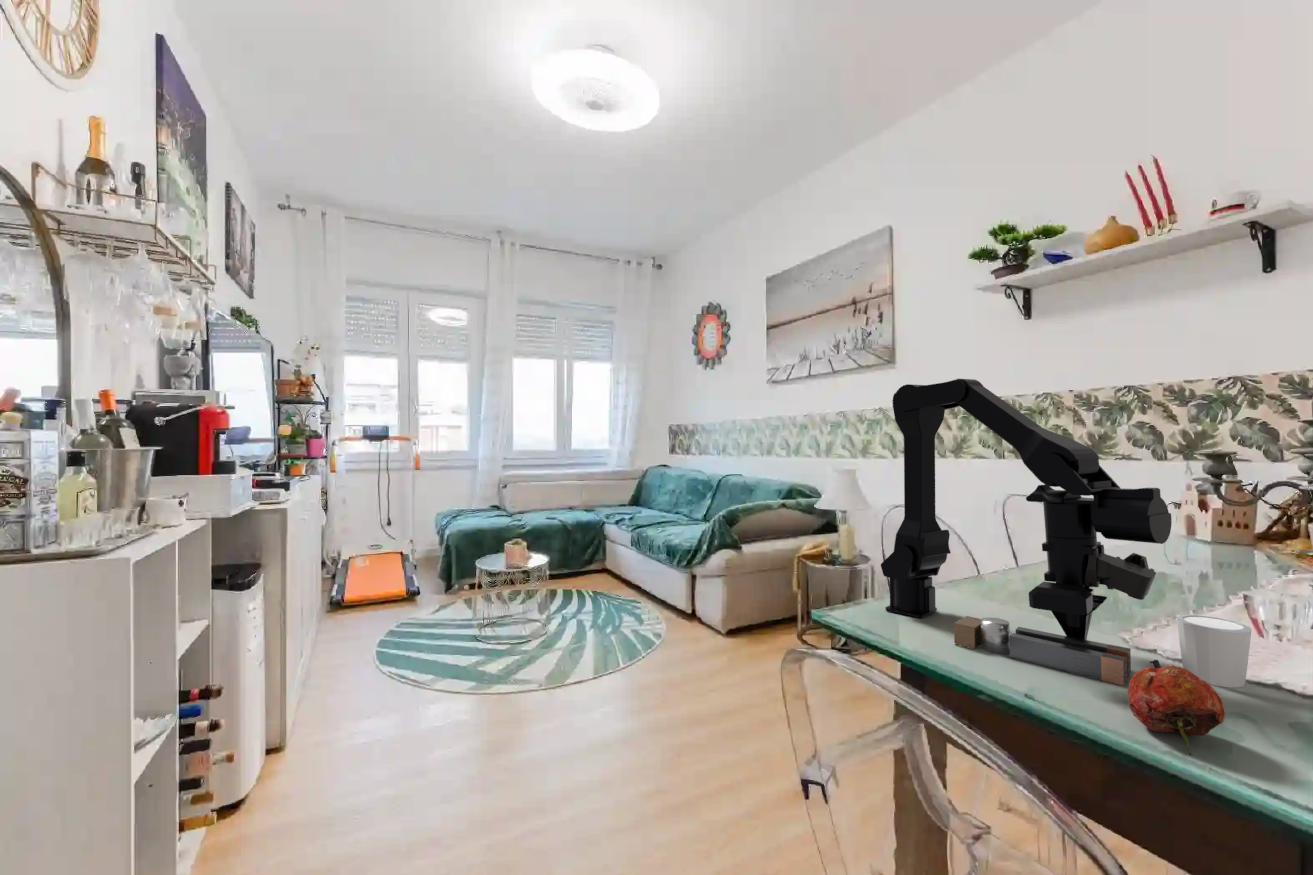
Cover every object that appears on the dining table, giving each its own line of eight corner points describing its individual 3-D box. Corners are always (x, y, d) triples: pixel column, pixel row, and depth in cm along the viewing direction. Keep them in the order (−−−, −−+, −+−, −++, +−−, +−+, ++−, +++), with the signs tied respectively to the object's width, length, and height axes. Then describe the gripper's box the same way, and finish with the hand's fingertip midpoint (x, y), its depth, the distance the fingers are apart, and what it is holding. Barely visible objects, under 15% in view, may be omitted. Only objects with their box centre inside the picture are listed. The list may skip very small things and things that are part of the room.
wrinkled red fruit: (1239, 780, 55) (1209, 685, 62) (1242, 738, 52) (1210, 643, 59) (1139, 765, 59) (1121, 677, 66) (1136, 725, 56) (1117, 637, 63)
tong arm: (1015, 650, 82) (1015, 629, 82) (1019, 647, 83) (1018, 626, 83) (1128, 675, 73) (1128, 652, 73) (1130, 671, 74) (1130, 648, 74)
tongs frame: (954, 644, 85) (954, 617, 85) (967, 636, 88) (966, 610, 88) (1123, 686, 70) (1122, 653, 70) (1131, 675, 73) (1130, 644, 73)
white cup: (1187, 683, 71) (1186, 626, 71) (1169, 663, 77) (1168, 611, 77) (1263, 693, 68) (1262, 634, 68) (1238, 672, 74) (1237, 618, 74)
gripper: (1133, 551, 67) (1143, 687, 66) (1158, 529, 79) (1167, 643, 79) (1023, 543, 75) (1032, 664, 75) (1062, 525, 88) (1069, 628, 87)
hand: (1079, 649), depth 79 cm, fingers closed
